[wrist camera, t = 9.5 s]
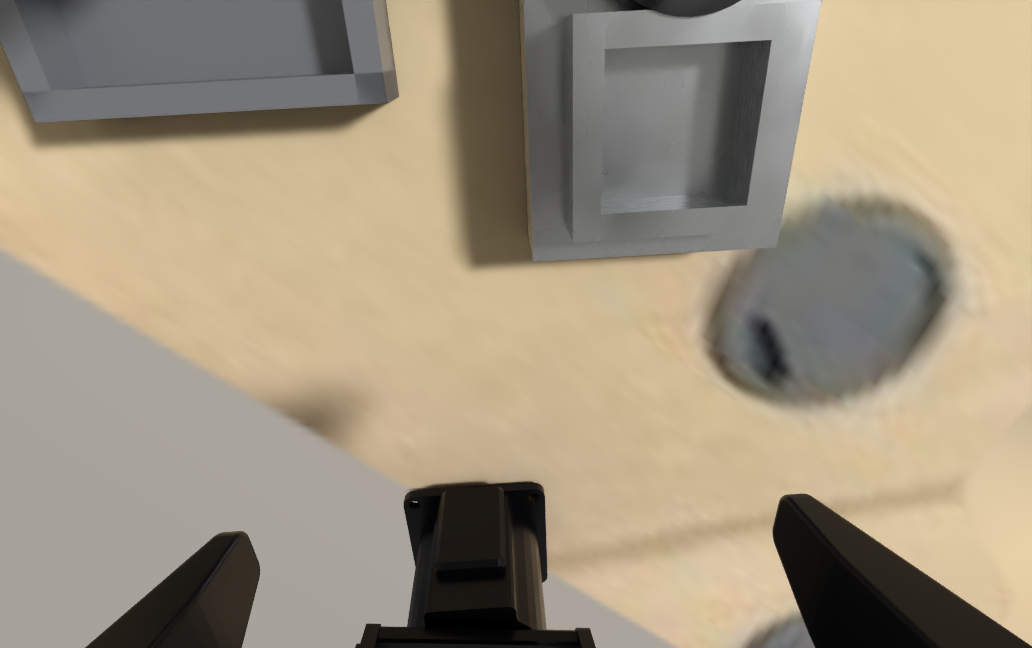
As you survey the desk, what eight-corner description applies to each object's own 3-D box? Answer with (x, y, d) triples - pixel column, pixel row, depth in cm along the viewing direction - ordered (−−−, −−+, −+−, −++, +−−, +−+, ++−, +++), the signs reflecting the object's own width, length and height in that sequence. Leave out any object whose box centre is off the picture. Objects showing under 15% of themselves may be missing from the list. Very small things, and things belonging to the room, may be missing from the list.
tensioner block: (744, 224, 20) (812, 272, 16) (528, 237, 20) (538, 289, 16) (810, -213, 14) (940, -318, 10) (511, -198, 14) (519, -299, 10)
